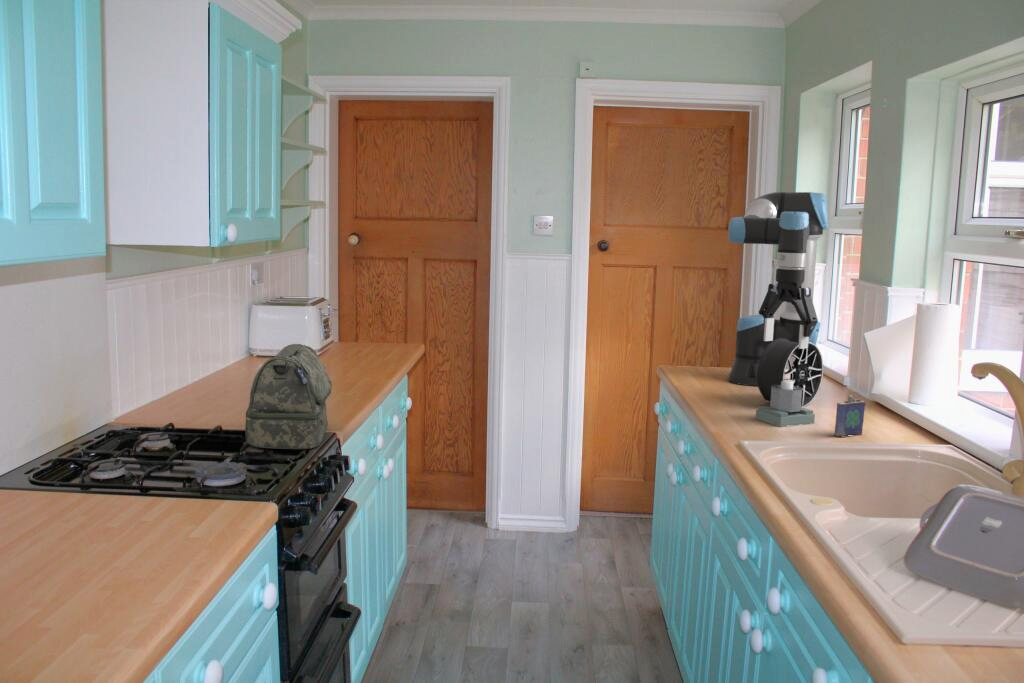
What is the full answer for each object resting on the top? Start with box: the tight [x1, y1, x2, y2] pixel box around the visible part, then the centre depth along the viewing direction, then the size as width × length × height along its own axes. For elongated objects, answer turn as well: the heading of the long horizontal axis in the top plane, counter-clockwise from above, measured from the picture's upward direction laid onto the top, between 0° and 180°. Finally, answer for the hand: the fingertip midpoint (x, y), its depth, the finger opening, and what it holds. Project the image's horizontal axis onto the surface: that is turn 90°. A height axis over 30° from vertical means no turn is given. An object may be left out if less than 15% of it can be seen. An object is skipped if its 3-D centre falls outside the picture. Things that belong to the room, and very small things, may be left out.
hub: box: [769, 384, 802, 412], centre depth 235 cm, size 8×8×6 cm
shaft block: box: [754, 381, 816, 427], centre depth 235 cm, size 12×10×11 cm
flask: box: [833, 394, 866, 437], centre depth 221 cm, size 9×3×11 cm, turn 117°
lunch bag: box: [245, 343, 333, 450], centre depth 203 cm, size 26×18×22 cm
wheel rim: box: [757, 338, 824, 408], centre depth 255 cm, size 20×9×20 cm, turn 127°
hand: (785, 344), depth 236 cm, fingers open, 13 cm apart
